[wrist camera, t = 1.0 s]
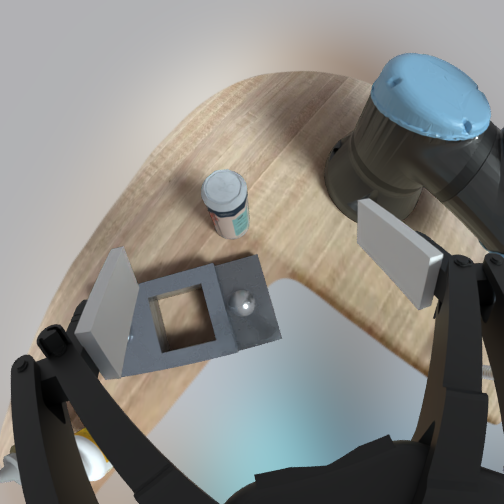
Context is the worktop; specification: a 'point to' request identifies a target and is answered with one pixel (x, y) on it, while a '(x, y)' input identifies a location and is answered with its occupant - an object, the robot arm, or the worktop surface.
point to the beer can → (227, 203)
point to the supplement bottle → (92, 456)
